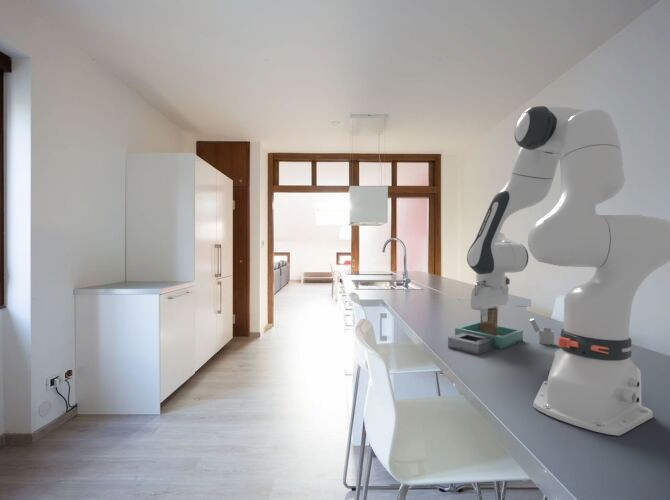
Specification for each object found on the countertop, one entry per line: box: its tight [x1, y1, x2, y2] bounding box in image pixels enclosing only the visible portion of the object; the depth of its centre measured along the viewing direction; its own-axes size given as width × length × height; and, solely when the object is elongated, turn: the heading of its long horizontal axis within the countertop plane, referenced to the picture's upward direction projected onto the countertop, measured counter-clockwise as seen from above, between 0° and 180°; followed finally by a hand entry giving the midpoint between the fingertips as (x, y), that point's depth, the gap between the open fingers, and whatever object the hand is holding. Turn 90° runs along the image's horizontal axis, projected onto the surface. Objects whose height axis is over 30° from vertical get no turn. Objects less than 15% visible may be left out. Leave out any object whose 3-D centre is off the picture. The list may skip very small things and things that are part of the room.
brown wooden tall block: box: [480, 307, 499, 336], centre depth 119 cm, size 4×4×10 cm
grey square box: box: [447, 332, 495, 356], centre depth 110 cm, size 10×10×3 cm
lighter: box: [528, 317, 555, 346], centre depth 116 cm, size 7×2×8 cm, turn 71°
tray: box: [454, 321, 524, 350], centre depth 120 cm, size 16×16×4 cm
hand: (489, 320), depth 119 cm, fingers closed on brown wooden tall block, 4 cm apart
